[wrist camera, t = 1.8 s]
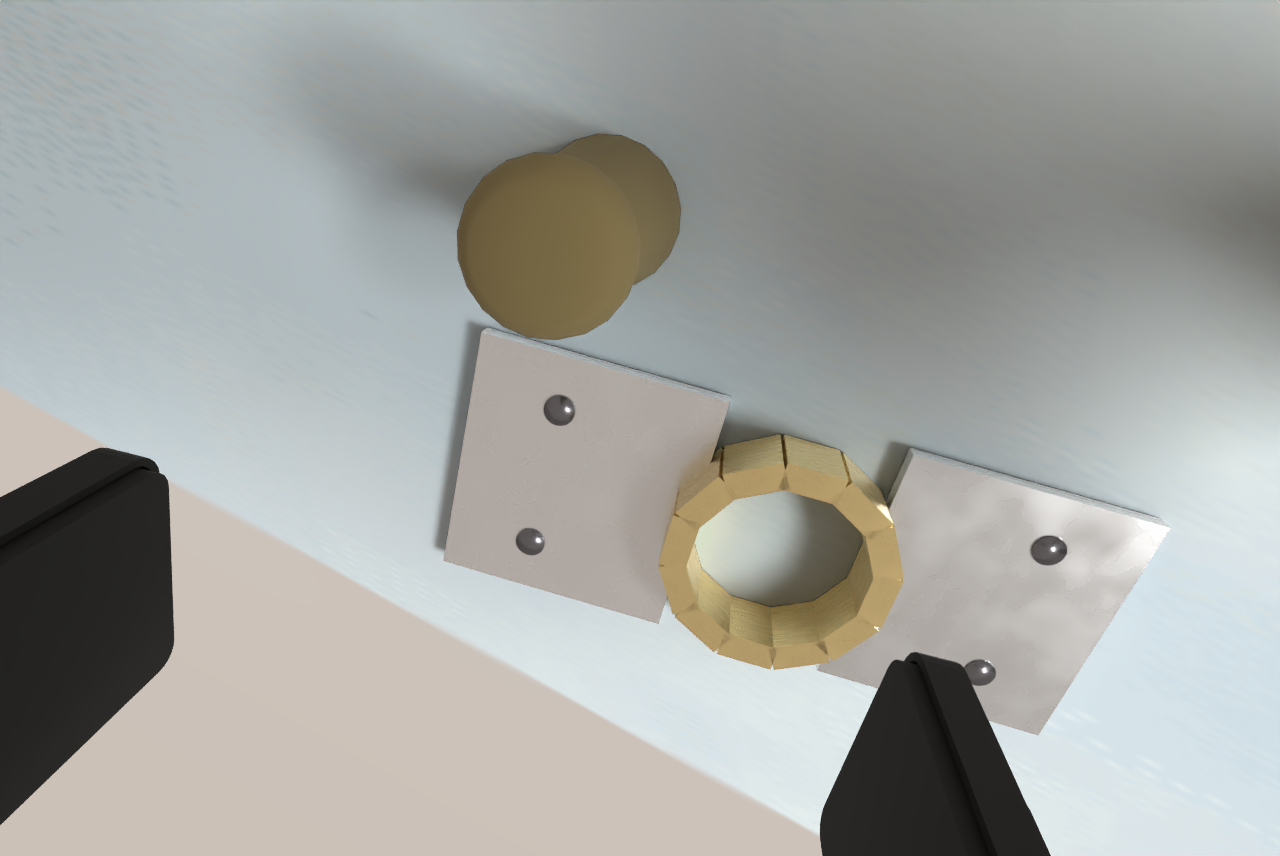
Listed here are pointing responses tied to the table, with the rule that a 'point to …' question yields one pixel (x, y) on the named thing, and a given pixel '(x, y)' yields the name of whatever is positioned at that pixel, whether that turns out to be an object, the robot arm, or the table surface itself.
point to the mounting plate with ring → (707, 482)
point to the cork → (567, 234)
